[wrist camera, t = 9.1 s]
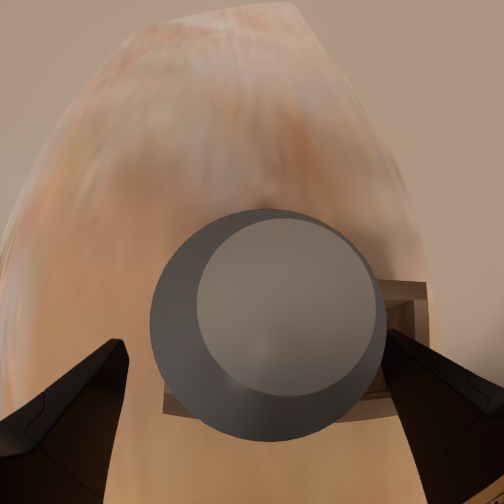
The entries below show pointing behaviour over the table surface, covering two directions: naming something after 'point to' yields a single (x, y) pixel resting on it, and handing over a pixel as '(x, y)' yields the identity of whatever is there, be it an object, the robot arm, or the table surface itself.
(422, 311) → the box
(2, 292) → the table surface
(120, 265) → the table surface
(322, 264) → the slate plug
